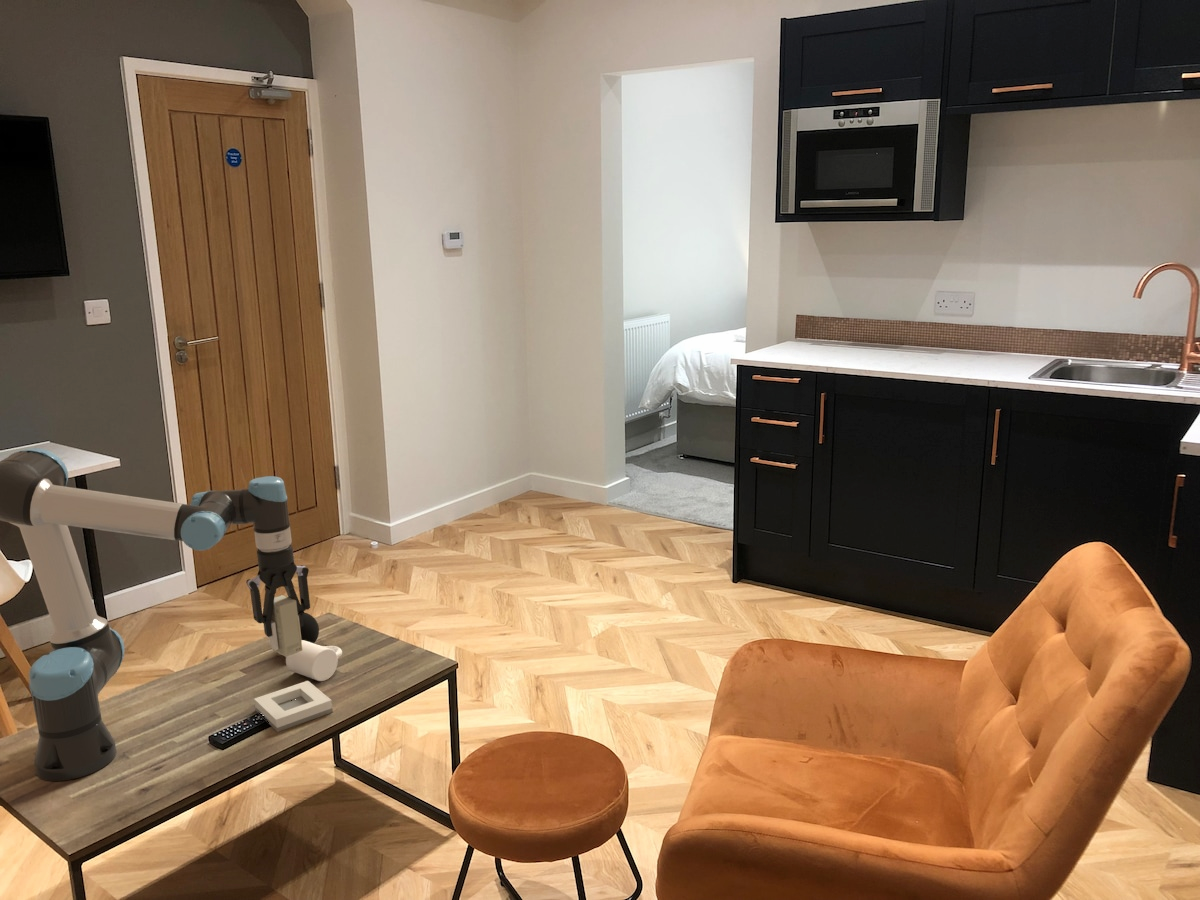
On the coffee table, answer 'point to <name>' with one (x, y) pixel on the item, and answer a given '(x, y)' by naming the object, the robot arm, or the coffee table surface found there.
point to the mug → (314, 661)
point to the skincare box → (286, 625)
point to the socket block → (293, 705)
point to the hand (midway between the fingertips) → (286, 644)
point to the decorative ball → (309, 628)
